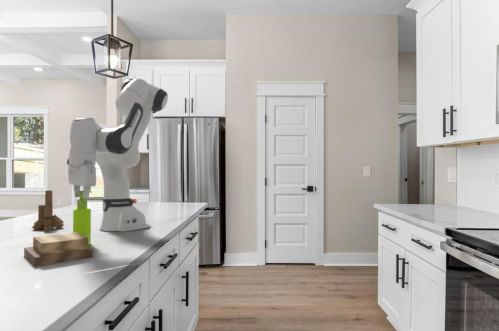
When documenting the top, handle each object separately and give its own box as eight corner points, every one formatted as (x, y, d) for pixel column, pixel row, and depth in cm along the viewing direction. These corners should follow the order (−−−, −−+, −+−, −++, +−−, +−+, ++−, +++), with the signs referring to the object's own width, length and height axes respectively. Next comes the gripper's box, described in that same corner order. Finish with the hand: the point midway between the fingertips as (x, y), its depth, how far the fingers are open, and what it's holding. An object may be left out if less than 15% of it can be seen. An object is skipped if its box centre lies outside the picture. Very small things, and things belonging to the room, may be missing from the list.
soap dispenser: (96, 243, 130) (96, 190, 130) (81, 247, 123) (82, 191, 123) (84, 241, 132) (84, 190, 132) (69, 245, 125) (69, 191, 125)
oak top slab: (76, 242, 119) (76, 232, 119) (88, 248, 110) (88, 237, 110) (33, 247, 111) (33, 236, 111) (41, 255, 101) (41, 243, 101)
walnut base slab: (77, 250, 121) (77, 240, 121) (92, 259, 110) (92, 248, 110) (24, 258, 110) (24, 247, 110) (34, 269, 99) (34, 257, 99)
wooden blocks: (63, 231, 153) (63, 191, 153) (30, 234, 147) (31, 192, 147) (63, 223, 175) (63, 188, 175) (35, 225, 169) (35, 189, 169)
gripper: (101, 160, 122) (100, 199, 121) (82, 161, 137) (81, 195, 136) (82, 159, 117) (81, 200, 117) (65, 160, 132) (64, 196, 132)
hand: (81, 197), depth 127 cm, fingers open, 8 cm apart
